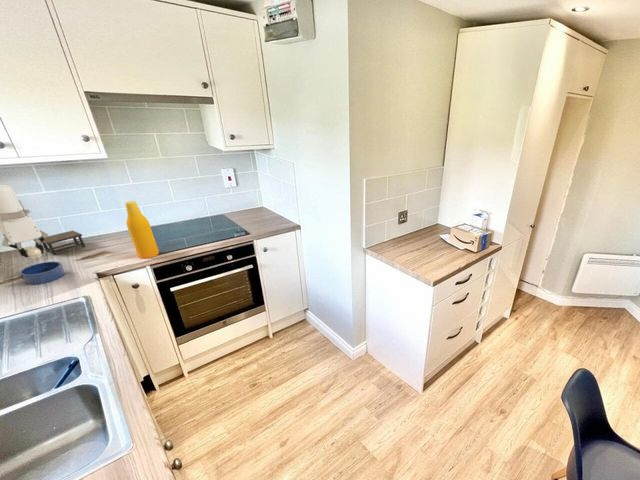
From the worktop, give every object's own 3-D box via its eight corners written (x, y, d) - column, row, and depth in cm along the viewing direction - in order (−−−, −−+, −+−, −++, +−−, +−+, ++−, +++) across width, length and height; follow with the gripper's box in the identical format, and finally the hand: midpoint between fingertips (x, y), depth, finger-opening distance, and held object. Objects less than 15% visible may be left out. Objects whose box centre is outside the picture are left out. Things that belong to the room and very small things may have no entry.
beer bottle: (134, 258, 168) (113, 204, 154) (146, 251, 176) (127, 199, 163) (152, 259, 168) (133, 205, 155) (163, 251, 177) (146, 200, 163)
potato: (31, 259, 140) (26, 250, 138) (24, 256, 143) (19, 247, 140) (45, 256, 143) (40, 247, 141) (38, 252, 146) (33, 243, 144)
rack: (54, 259, 164) (46, 243, 160) (46, 254, 168) (37, 238, 164) (88, 249, 175) (81, 234, 171) (79, 245, 179) (72, 230, 175)
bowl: (32, 287, 140) (26, 277, 138) (20, 279, 145) (14, 270, 143) (71, 275, 151) (66, 265, 148) (58, 268, 156) (53, 259, 154)
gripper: (36, 208, 142) (55, 246, 151) (-22, 219, 129) (3, 259, 137) (43, 211, 139) (62, 249, 148) (-15, 222, 126) (10, 263, 134)
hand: (33, 254), depth 142 cm, fingers closed on potato, 4 cm apart
